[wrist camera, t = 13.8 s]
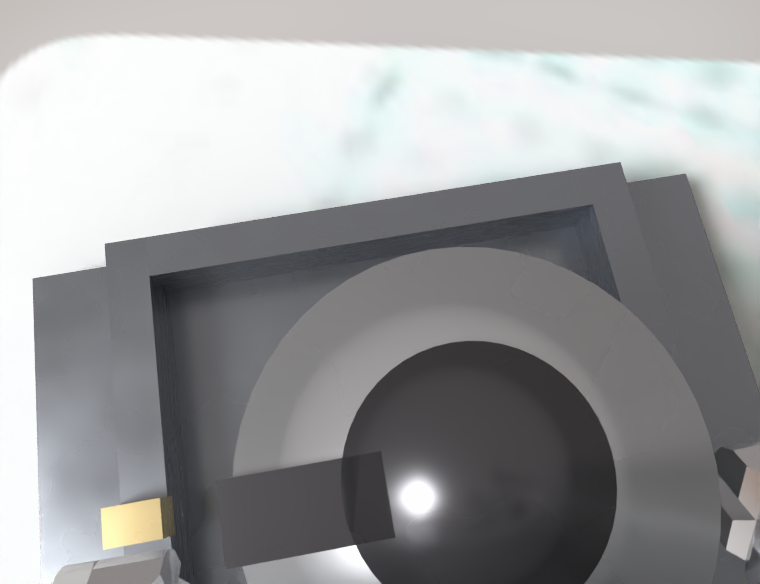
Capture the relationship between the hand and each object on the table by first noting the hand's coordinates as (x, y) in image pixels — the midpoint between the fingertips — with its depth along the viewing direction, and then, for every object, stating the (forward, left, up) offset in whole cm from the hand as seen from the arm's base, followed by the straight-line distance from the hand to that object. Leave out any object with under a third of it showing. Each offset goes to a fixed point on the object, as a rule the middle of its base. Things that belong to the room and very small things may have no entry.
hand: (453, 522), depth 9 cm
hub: (0, -1, -5) cm, 5 cm away
